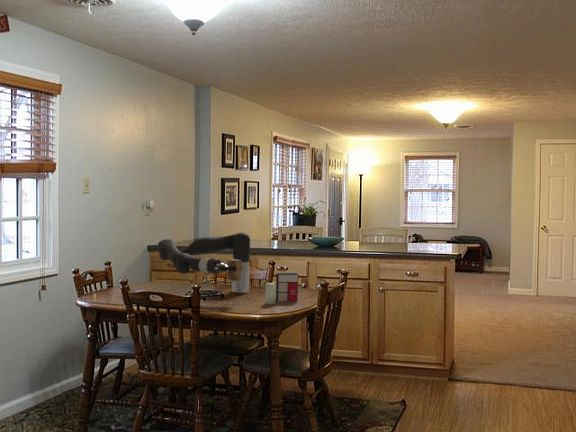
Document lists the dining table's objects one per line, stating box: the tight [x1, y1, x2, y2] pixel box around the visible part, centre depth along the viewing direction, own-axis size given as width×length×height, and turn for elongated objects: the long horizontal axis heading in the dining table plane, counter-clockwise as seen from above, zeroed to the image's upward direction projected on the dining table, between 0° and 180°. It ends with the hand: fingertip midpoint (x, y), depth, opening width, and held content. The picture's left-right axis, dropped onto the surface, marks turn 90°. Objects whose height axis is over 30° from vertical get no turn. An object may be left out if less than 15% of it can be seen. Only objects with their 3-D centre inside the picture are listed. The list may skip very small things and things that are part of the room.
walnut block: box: [226, 258, 242, 282], centre depth 326 cm, size 5×5×10 cm
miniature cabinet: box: [275, 272, 299, 302], centre depth 341 cm, size 11×4×15 cm, turn 105°
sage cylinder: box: [264, 282, 276, 306], centre depth 330 cm, size 5×5×10 cm
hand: (239, 268), depth 325 cm, fingers closed on walnut block, 5 cm apart
